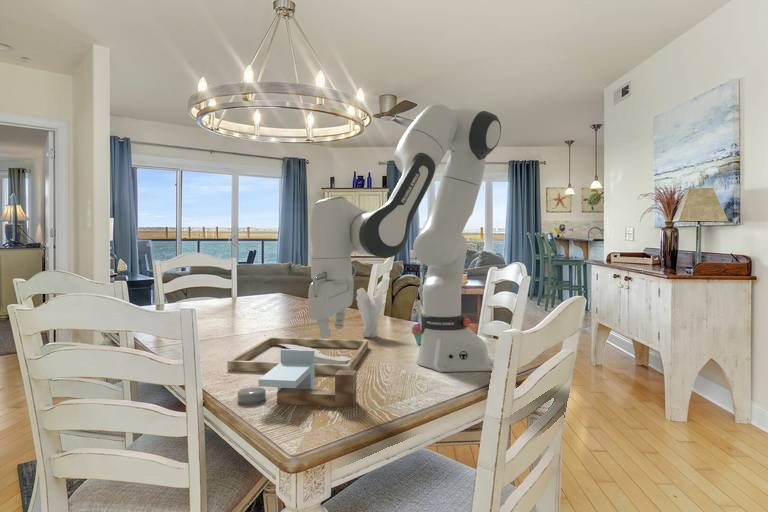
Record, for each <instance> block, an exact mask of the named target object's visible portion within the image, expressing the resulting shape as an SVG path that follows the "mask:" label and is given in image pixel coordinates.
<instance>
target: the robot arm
mask: <svg viewBox="0 0 768 512" xmlns="http://www.w3.org/2000/svg"><path fill="white" fill-rule="evenodd" d="M501 133H502V125H501V121H500V119H499V117H498V116H497V115H496V114H494V113H492V112H489V111H486V110H479V109H473V108H469V107H449V106H447V105H444V104H442V103H433V104H429V106H427V107H425V109H423V110H422V111H421V113H420V114H419V115H417V116H416V118H415V119H414V120H413V121H412V122H411V124H410V125H409V126H408V128H407V129H406V130H405V132H404V134H402V137H401V138H400V140H399V141H398V143H397V146H396V148H395V149H394V150H395V151H394V153H393V160H394V165H395V167H396V168H397V170H398V171H399V172H400V173H401V177H400V178H399V180H398V182H397V184H396V186H395V187H394V189H393V190H392V193H391V195H390V196H389V198H388V200H387V202H386V203H384V204H383V206H381V207H380V208H378V209H376V210H374V211H368V210H365V209H363V208H361V207H359V206H357V205H355V204H353V203H352V202H350V201H349V200H348V199H347V197H345V196H341V195H340V196H331V197H328V198H327V197H326V198H323V199H319V200H317V201H316V202H314V204H313V205H312V207H311V211H310V223H309V232H310V233H309V238H310V242H311V247H312V248H311V253H310V276H311V277H310V278H311V280H312V282H311V283H310V284H309V288H308V293H307V315H308V318H309V319H310V320H313V321H315V320H316V321H317V322H316V323H317V326H318V328H319V332H320V334H319V337H320V339H329V337H330V336H331V328H330V327H329V322H330V318H331V317H332V316H334V315H335V321H334V328H335V329H336V330H342V329H344V327H345V319H346V314H347V313H346V312H347V311H346V310H347V309H348V308H349V307H351V306H352V305H353V302H354V301H353V300H354V287H355V286H354V284H355V283H354V282H355V280H354V277H355V276H356V266H355V265H354V264H352V254H353V252H354V253H356V254H361V255H367V256H368V255H369V256H374V257H378V258H383V259H389V258H393V257H394V256H397V255H399V253H400V252H402V251H403V249H404V248H405V246H406V245H407V242H408V239H409V235H410V229H411V225H412V221H413V219H414V216H415V215H416V212H417V210H418V209H419V207H420V205H421V202H422V200H423V199H424V197H425V194H426V193H427V191H428V189H429V186H430V185H431V183H432V181H433V178H434V176H435V173H436V172H435V171H436V170H437V168H438V167H439V165H440V163H441V162H442V160H443V159H444V158H445V156H446V154H447V152H448V151H450V155H449V156H448V159H447V161H446V164H445V167H444V170H443V173H442V176H441V180H440V182H439V186H438V189H437V193H436V197H435V199H434V202H433V205H432V208H431V210H430V212H429V214H428V215H427V217H426V220H425V222H424V225H423V226H422V229H421V231H420V232H419V234H418V235H417V236H416V237H415V239H414V241H413V246H412V247H413V248H412V249H413V254H414V256H415V258H416V259H417V260H418V262H420V263H421V264H423V265H425V266H427V272H426V276H425V280H424V283H423V285H422V312H421V322H420V323H421V333H422V337H421V345H420V344H419V350H418V356H417V359H416V363H417V364H418V365H420V366H421V367H422V366H423V367H424V368H429V369H432V370H434V371H437V372H440V373H441V372H442V373H444V372H445V373H447V372H451V373H452V372H453V373H454V372H491V371H493V370H492V368H493V362H494V360H495V358H493V357H492V356H490V355H489V350H488V347H487V344H486V342H485V341H484V339H482V338H481V337H480V336H479V335H478V334H476V333H475V332H474V331H472V330H471V329H470V328H469V326H470V325H471V319H470V318H468V317H467V316H466V315H464V314H462V287H463V286H462V284H463V279H464V277H463V276H464V272H465V263H466V256H467V252H468V247H469V245H468V241H467V239H466V238H465V236H464V235H463V232H464V230H465V227H466V226H467V224H468V221H469V219H470V217H472V215H473V213H474V209H475V206H476V202H477V198H478V196H479V192H480V189H481V185H482V181H483V179H484V174H485V173H484V171H485V167H486V160H487V159H486V158H487V156H488V155H489V154H491V153H492V152H493V150H494V149H495V148H496V147H497V146H498V143H499V141H500V139H501V135H502V134H501Z"/></svg>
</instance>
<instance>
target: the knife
mask: <svg viewBox="0 0 768 512" xmlns="http://www.w3.org/2000/svg"><path fill="white" fill-rule="evenodd" d="M278 345H281V347H285V349H301V350H314V363H316V364H343V365H347V364H348V362H349V361H350V360H351V358H352V357H347V356H345V355H341V356H330V355H327V354H326V355H325V354H323V353H322V352H321V350H318V349H316V348H312V347H304V346H297V345H290V344H284V343H283V344H278Z"/></svg>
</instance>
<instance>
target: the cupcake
mask: <svg viewBox="0 0 768 512" xmlns="http://www.w3.org/2000/svg"><path fill="white" fill-rule="evenodd" d="M418 309H419V310H418V312H419V320H420V321H419V322H418V323H416V324H414V325H413V326H412V327H411V333H412V334H413V336H414V338H415V342H416V344H418V345H420V344H421V337H422V333H421V314H422V310H421V308H420V307H418Z"/></svg>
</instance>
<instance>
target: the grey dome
mask: <svg viewBox="0 0 768 512" xmlns="http://www.w3.org/2000/svg"><path fill="white" fill-rule="evenodd" d="M266 392H267V391H266V389H265V388H264V387H256V386H255V387H247V388H243V389H240V390H239V391H238V392H237V403H238V402H239V404H240V403H241V405H245V404H246V405H247V406H248V405H257V404H260V403H263V402H264V401H266V399H267V398H266V397H267V396H266ZM246 405H245V406H246Z"/></svg>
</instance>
